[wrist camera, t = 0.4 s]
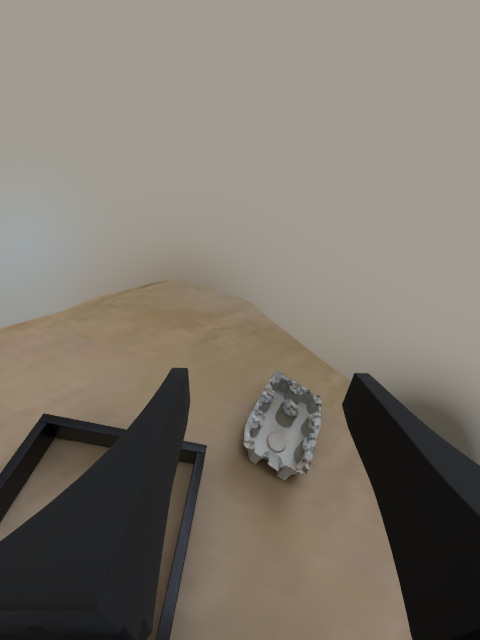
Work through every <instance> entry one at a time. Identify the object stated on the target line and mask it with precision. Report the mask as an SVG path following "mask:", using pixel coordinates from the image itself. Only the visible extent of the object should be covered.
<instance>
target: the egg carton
mask: <svg viewBox="0 0 480 640" xmlns="http://www.w3.org/2000/svg"><path fill="white" fill-rule="evenodd" d="M321 404H322V398H321V396H315V395H313V394H312V393H311V392H310V389H308V388H304V387H302V386H301V385H300V384H298V383H296V382H295V381H293V380H292V379H287V378H286V377H285V376H284V375H283V374H281V373H280V372H278V371H276V372H275V373H274V374H273V376H272V377H271V379H270V380H269V382H268V384H267V385H266V387H265V389H264V391H263V393H262V394H261V396H260V397H259V399H258V401H257V403H256V405H255V407H254V409H253V410H252V412H251V414H250V416H249V418H248V420H247V423H246V425H245V434H244V441H243V445H244V446H245V447H246V449H247V451H248V458H249V460H251V461H252V462H253V463H254V464H257V463H258V461H260V460H261V459H267V460H268V464H269V465H270V466H271V467H273V468H274V469H275V470H277V476H278V477H279V478H281V479H282V480H284V481H285V480H286V479H287V478H288V477H289V476H290V475H297V474H299V473H302V474H307V472H306V471H308V470H309V467H310V464H311V461H312V457H313V454H314V450H315V444H316V441H317V438H318V433H319V429H320V426H321Z"/></svg>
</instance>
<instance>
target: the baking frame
mask: <svg viewBox="0 0 480 640" xmlns="http://www.w3.org/2000/svg"><path fill="white" fill-rule="evenodd" d="M125 431H126V430H125V429H120V428H115V427H110V426H105V425H100V424H95V423H90V422H84V421H79V420H74V419H69V418H64V417H59V416H54V415H49V414H43V415H42V416H41V418H40V419H39V421H38V422H37V424H36V425H35V426H34V428H33V429H32V430H31V432H30V433H29V435H28V436H27V437H26V439H25V440H24V442H23V443H22V444H21V446H20V447H19V449H18V450H17V451H16V453H15V454H14V455H13V457H12V458H11V460H10V461H9V462H8V464H7V465H6V467H5V468H4V469H3V471H2V472H1V474H0V522H1V520H2V518H3V517H4V515H5V514H6V512H7V511H8V509H9V508H10V506H11V504H12V503H13V501H14V500H15V498H16V497H17V495H18V493H19V492H20V490H21V489H22V487H23V486H24V484H25V483H26V481H27V479H28V478H29V476H30V475H31V473H32V472H33V470H34V468H35V467H36V465H37V464H38V462H39V461H40V459H41V458H42V456H43V454H44V453H45V451H46V450H47V448H48V447H49V445H50V443H51V442H52V440H53V439H54V437H58V438H63V439H68V440H74V441H79V442H84V443H89V444H94V445H100V446H105V447H111V446H112V445H113V444H114V443H115V442H116V441H117V440H118V439H119V438H120V437H121V436H122V435H123V434H124V432H125ZM206 447H207V446H206V445H202V444H197V443H192V442H187V441H183V443H182V447H181V451H180V455H179V459H178V461H183V462H189V463H194V467H193V471H192V476H191V480H190V485H189V490H188V494H187V499H186V503H185V508H184V512H183V517H182V522H181V526H180V531H179V535H178V540H177V544H176V549H175V554H174V558H173V563H172V567H171V572H170V577H169V581H168V586H167V590H166V595H165V599H164V604H163V609H162V613H161V618H160V622H159V627H158V631H157V636H156V640H169V638H170V633H171V628H172V623H173V618H174V612H175V607H176V602H177V597H178V592H179V587H180V582H181V576H182V571H183V566H184V561H185V556H186V551H187V545H188V540H189V535H190V530H191V525H192V520H193V514H194V509H195V504H196V499H197V494H198V489H199V484H200V478H201V473H202V468H203V463H204V458H205V453H206Z"/></svg>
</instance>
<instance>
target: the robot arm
mask: <svg viewBox="0 0 480 640" xmlns="http://www.w3.org/2000/svg"><path fill="white" fill-rule="evenodd" d="M189 406H190V392H189V378H188V368H172V369H171V370H170V372H169V374H168V375H167V377H166V379H165V380H164V382H163V383H162V385H161V386H160V388H159V389H158V391H157V392H156V393H155V395H154V396H153V398H152V399H151V400H150V402H149V403H148V404H147V406H146V407H145V408H144V410H143V411H142V412H141V413H140V415H139V416H138V417H137V418H136V419H135V421H134V422H133V423H132V424H131V425H130V427H129V428H128V429H127V430H126V431H125V432H124V434H123V435H122V436H121V437H120V438H119V439H118V440H117V441H116V442H115V443H114V444H113V445H112V446H111V447H110V449H109V450H108V451H107V452H106V453H105V454H104V455H103V456H102V457H101V458H99V459H98V460H97V461H96V462H95V463H94V464H93V465H92V466H91V467H90V468H89V469H88V470H87V471H86V472H85V473H84V474H83V475H82V476H80V477H79V478H78V479H77V480H76V481H75V482H74V483H72V484H71V485H70V486H69V487H68V488H67V489H65V490H64V491H63V492H62V493H61V494H60V495H59V496H57V497H56V498H55V499H54V500H53V501H52V502H50V503H49V504H48V505H47V506H45V507H44V508H43V509H42V510H40V511H39V512H38V513H37V514H35V515H34V516H33V517H31V518H30V519H29V520H27V521H26V522H25V523H24V524H22V525H21V526H20V527H18V528H17V529H16V530H15V531H13V532H12V533H11V534H9V535H8V536H7V537H5V538H4V539H3V540H2V541H0V640H146V639H147V638H148V637H149V635H150V634H151V633H152V626H153V618H154V610H155V602H156V594H157V586H158V579H159V572H160V564H161V557H162V550H163V543H164V536H165V529H166V522H167V516H168V509H169V503H170V496H171V490H172V485H173V480H174V476H175V472H176V468H177V463H178V459H179V455H180V451H181V447H182V443H183V439H184V435H185V431H186V426H187V421H188V414H189ZM342 406H343V410H344V414H345V418H346V421H347V425H348V428H349V431H350V433H351V436H352V438H353V441H354V443H355V446H356V448H357V450H358V453H359V455H360V458H361V460H362V462H363V465H364V467H365V470H366V472H367V474H368V477H369V479H370V482H371V485H372V487H373V490H374V493H375V496H376V499H377V502H378V506H379V509H380V512H381V515H382V518H383V522H384V525H385V529H386V532H387V536H388V540H389V543H390V547H391V550H392V554H393V558H394V562H395V566H396V570H397V574H398V578H399V582H400V586H401V591H402V595H403V599H404V604H405V608H406V613H407V617H408V622H409V627H410V632H411V636H412V639H413V640H480V466H479V465H478V464H477V463H475V462H474V461H472V460H471V459H469V458H468V457H467V456H465V455H464V454H463V453H461V452H460V451H458V450H457V449H456V448H454V447H453V446H452V445H450V444H449V443H448V442H446V441H445V440H444V439H443V438H441V437H440V436H439V435H438V434H436V433H435V432H434V431H433V430H431V429H430V428H429V427H428V426H426V425H425V424H424V423H423V422H422V421H421V420H420V419H418V418H417V417H416V416H415V415H413V413H411V412H410V411H409V410H408V409H407V408H406V407H405V406H404V405H402V404H401V403H400V402H399V401H398V400H397V399H396V398H395V397H394V396H393V395H391V394H390V393H389V392H388V391H387V390H386V389H385V388H384V387H383V386H382V385H381V384H379V383H378V382H377V381H376V380H375V379H374V378H373V377H372V376H371V375H369V374H368V373H355V374H354V376H353V378H352V381H351V383H350V386H349V388H348V391H347V393H346V396H345V398H344V401H343V404H342Z"/></svg>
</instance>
